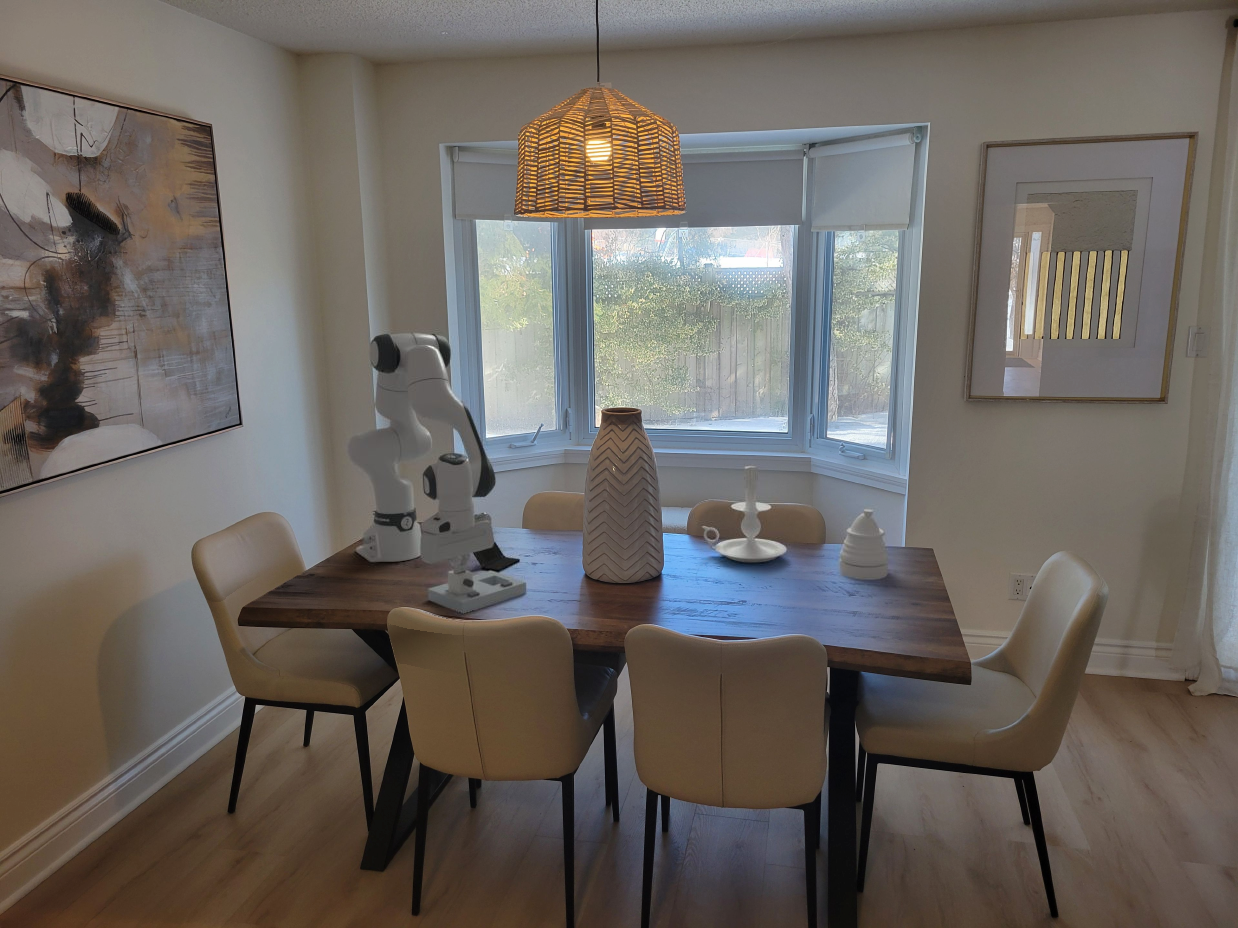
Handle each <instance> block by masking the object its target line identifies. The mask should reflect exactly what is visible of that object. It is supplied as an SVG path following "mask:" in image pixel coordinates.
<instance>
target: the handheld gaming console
mask: <svg viewBox="0 0 1238 928" xmlns="http://www.w3.org/2000/svg"><path fill="white" fill-rule="evenodd" d="M472 554H473V556H474V557H475V558H476V561H478V563H479V565H480V566H481V570H482V571H488V570H489V571H490V570H491V571H494V572H497V573H500V572H503V571H504V570H506V569H508V568H511V567H513V566H514V565H516V564H518V563H520V562H521V559H520V558H513V557H507V556H505V555H504V553H503V551H502V550H501V549H500V547H499V545H498V544H497V543H496V541H495V540H494V545H493V547H491V548H488V549H484V550H480V551H477V552H473V553H472Z"/></svg>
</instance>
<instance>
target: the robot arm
mask: <svg viewBox="0 0 1238 928" xmlns="http://www.w3.org/2000/svg"><path fill="white" fill-rule="evenodd" d="M368 352H369V360H370V363H371V366H372V368H374V369H375V370H376V371H377V376H376V377H377V378H376V386H375V387H376V390H375V399H374V400H375V401H374V405H375V406H374V407H375V410H376V411H377V413H378V415H380V416H382V417H383V418H385V419H387V420H389V421H390V422H389V423H390V424H389V427H386V428H376V429H368V430H364V431H362V432H359V433H356V434H354V435H352V436H351V438H350V439H349V441H348V444H347V453H348V457H349V459H350V461H351V462H352V464H353V465H354V466H356V467H358V468H359V469H361V470H362V471H363V472H365V474H366V475H367V476H368V478H369V479H370V482H371V484H372V487H373V491H374V493H373V494H374V499H375V508H376V510H373V511H372V513H373V514H372V515H373V523H371V525H370V526H369V527H368V528H367V529H366V530H365V531H364V533H363V536H362V539H361V540H362V543H363V545H359V546H357V547H356V549H355V552H356V553H357V554H359V555H361V557H363V558H365V560H367V561H368V562H370V563H378V562H379V563H380V562H390V563H391V562H392V563H393V562H394V563H395V562H402V561H408V560H413V559H416V558H418V557H420V559H421V560H422V561H423V562H425V563H427V564H431V565H433V564H435V563H440V562H443V561H446V560H448V562H449V563H450V564H451V566H452V570H453V572H454V573H456V574H458V573H461V572H465V571H468V570H467V568H468V567H467V565H468V562H469V561H470V558H471V554H473V552H477V551H480V550H484V549H488V548H491V547H493V545H494V541H495V537H494V536H495V535H494V531H493V526H492V517H491V515H490V514H489V513H486V512H481V513H477V514H475V504H474V501H473V498H486V497H487V496H488V495H489V494H490V493H491V492H492V491H493V490H494V488H495V486H496V482H497V481H496V474H495V473H496V472H495V471H494V467H493V466H492V463H491V461H490V460H489V458H488V456H487V453H486V451H485V447H484V445H483V442H482V440H481V437H480V434H479V432H478V429H477V427H476V423H475V422H474V418H473V416H472V414H471V412H470V409H469V408H468V406H467V404H466V402H463V401H462V400H460V399H459V398H458V397H457V396H456V395H455V394H454V391H453V390H452V387H451V384H450V379H449V375H448V374H449V373H448V371H447V370H448V369H447V367H448V366H449V365H450V363H451V359H452V358H451V356H452V350H451V346H450V342H449V341H448V340H447V338H446V337H445V336H443V335H440V334H436V333H431V334H428V333H422V332H421V333H419V332H418V333H417V332H409V333H392V334H389V333H384V334H379V335H376V336H374V337H373V339H372V340H371V342H370V345H369V351H368ZM417 414H418V416H420V417H422V418H424V419H427V420H429V421H431V422H437V423H439V424H444V425H446V426H448V427H450V428H452V429H454V430H455V431H456V432H457V434H458V435H459V437H460V441H461V442H462V445H463V448H464V451H465V453H466V455H465V454H462V453H457V452H449V453H444V454H442V455H440V456H438V457H437V460H436V462H435V463H433V464H429V465H428V466H427V467H426V469H425V470H424V471H423V472H422V487H423V493H424V494H425V496H427V498H429V499H430V500H433V501H438V507H437V512H435V513H434V514H432V515H431V516H430V517H429V518H427V519H425V520H423V521H422V522H421V524H420V523H418V522H417V519H418V518H417V514H418V513H417V508H416V507H415V501H414V500H415V497H414V485H413V483H412V482H411V481H410V480H409V479H408V478H406V476H402V475H400V474H398V473H397V471H396V468H395V465H399V464H404V463H409V462H415V461H418V460H420V459H423V458H425V457H427V456H429V455H430V453H431V452H432V448H433V437H432V436H431V433H430V431H429V430H428V429H427V428H426V426H424V425H422V424H421V423H420V422H419V420H418V417H417ZM421 531H423V532H421ZM459 557H461V560H460V563H459V564H458V560H459V559H458V558H459Z"/></svg>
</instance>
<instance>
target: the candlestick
mask: <svg viewBox="0 0 1238 928" xmlns="http://www.w3.org/2000/svg"><path fill="white" fill-rule="evenodd" d="M748 464H749V466H744V478H743V479H744V480H745V481H744V482H745V483H744V484H745V486H744V499H745V501H742V502H735V503H733V504H731V506H730V507H731V508H732V509H734V510H736V511H740V512H743V513H744V517H743V519H742V521H741V523H740V529H741V532H742V533H743V534H744V535H745V537H743V538H733V539H726V540H722V541H720V542H719V543H717V544H715V546H713V544H714V543H716V542H717V541H719V537H720V533H719V531H718V529H716V528H714V527H708V526H705V525H703V526H701V528H702V529H704V532H703V538H704V540H705V541H706V542H707V543H708V546H709V548H710V549H712V550H715V551H716V552H717V553H718V554H721V555H723V556H724V557H726V558H728V559H730V560H732V561H733V560H734V561H736V562H740V563H751V564H752V563H756V564H757V563H763V562H764V563H765V562H769V561H772V560H774V559H776V558H777V557H780V556H782V555H784V554H785V553H786V552H787V547H786V546H785V545H784V544H782V543H780V542H778V541H774V540H770V539H762V538H755V537H756V536H758V535H759V533H760V532H761V529H762V528H761V527H762V526H761V522H760V519H759V518H758V514H759V513H761V512H766V511H768V510H770V509H772V505H770V504H767V503H764V502H759V501H758V502H757V491H758V478H759V477H758V475H759V474H758V472H759V471H758V470H759V466H752V465H750V463H748ZM709 531H712V532H714V533H715V535H716V537H715V538H714V539H713V540H712V539H709V538H708V536H707V533H708V532H709Z"/></svg>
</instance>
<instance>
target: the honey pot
mask: <svg viewBox="0 0 1238 928" xmlns="http://www.w3.org/2000/svg"><path fill="white" fill-rule="evenodd" d="M862 511H863V513H861V514H860V515H858V516H857V517H856V518H855V520H854V521H853V523H852V525H851V526H850V527H848V528H847V529H846V534H847V535H846V537H845V539H844V541H843V544H842V548H841V550H840V552H839V564H838V566H839V567H838V569H839V570H838V571H839V573H840V574H841V575H842V574H843V575H842V576H844V575H845V576H844V577H848V578H851V579H857V580H864V581H869V580H872V581H873V580H880V579H884V578H886V577H887V576H888V572H889V571H888V568H889V553H888V552H887V549H886V548H887V547H886V546H885V544H886V543H885V541H884V539H883V537H884V536H885V535H886V532H885V531H884V529H881V528H880V527H879V526H878V524H877V522H876V520H875V519H874V518H873V514H874V509H870V508H869V509H868V508H865V509H863V510H862Z"/></svg>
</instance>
